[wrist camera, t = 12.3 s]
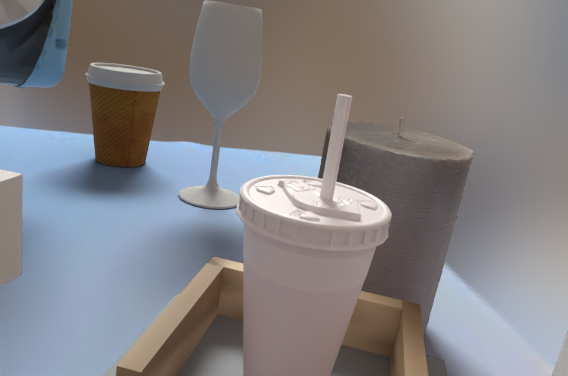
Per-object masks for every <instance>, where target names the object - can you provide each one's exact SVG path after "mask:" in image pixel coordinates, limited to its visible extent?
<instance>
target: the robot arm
mask: <svg viewBox="0 0 568 376" xmlns="http://www.w3.org/2000/svg"><path fill="white" fill-rule="evenodd" d="M71 10H72V0H0V84H8V85H14V86H15V87H18V88H24V87H27V86H31V87H52V86H55V85H56V84H58V83H59V82H60V80H61V79H62V77H63V74H64V69H65V61H66V54H67V41H68V36H69V30H70V20H71ZM21 274H22V174H19V173H14V172H10V171H5V170H1V169H0V287H1V286H3V285H4V284H6V283H7V282H9V281H11V280H12V279H14V278H16V277H17V276H19V275H21ZM552 376H568V332H567V335H566V338H565V340H564V343H563V346H562V349H561V351H560V354H559V357H558V360H557V362H556V365H555V368H554V371H553V373H552Z"/></svg>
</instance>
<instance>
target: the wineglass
mask: <svg viewBox="0 0 568 376" xmlns="http://www.w3.org/2000/svg"><path fill="white" fill-rule="evenodd" d="M262 56H263V26H262V12H261V10H260V9H256V8H251V7H246V6H240V5H234V4H228V3H222V2H215V1H204V4H203V7H202V10H201V14H200V17H199V21H198V25H197V28H196V33H195V37H194V42H193V47H192V52H191V57H190V67H189V73H190V81H191V85H192V88H193V90H194V92H195V93H196V95H197V97H198V99H199V100H200V101H201V102H202V103H203V104H204V106H205V107H206V108H207V109H208V110H209V112H210V113H211V114H212V115H213V117H214V120H215V137H214V145H213V154H212V162H211V171H210V177H209V181H208V182H207V184H206V185H205V186H192V187H187V188H184V189H181V190H180V191H179V197H180V199H181V200H183V201H184V202H186V203H188V204H191V205H194V206H198V207H203V208H210V209H228V208H234V207H237V204H238V203H239V198H240V195H238V194H237V193H235V192H232V191H230V190H227V189H223V188H219V186H218V184H217V179H216V175H217V166H218V158H219V150H220V141H221V133H222V128H223V124H224V121H225V120H226V119H227V117H228V116H230V115H231V114H233V113H234V112H236V111H237V110H239V109H240V108H241V107H243V106H244V105H245V104H246V103H247V102H248V101H249V100H250V99H251V98H252V97H253V96H254V94H255V92H256V91H257V89H258V86H259V82H260V78H261V72H262Z"/></svg>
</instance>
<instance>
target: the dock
mask: <svg viewBox="0 0 568 376" xmlns="http://www.w3.org/2000/svg"><path fill="white" fill-rule="evenodd" d="M177 296H178V295H177V294H176V295H175V296H174V297H173V298H172V299H171V300H170V301H169V302H168V304H167V305H166V306H165V307H164V308H163V309H162V310H161V311H160V312H159V314H158V315H157V316H156V317H155V318H154V319H153V320H152V321H151V323H150V324H149V325H148V326H147V327H146V328H145V329H144V330H143V332H142V333H141V334H140V335H139V336H138V337H137V338H136V339H135V340H134V342H133V343H132V344H131V345H130V346H129V347H128V348H127V349H126V351H125V352H124V353H123V354H122V355H121V356H120V357H119V358H118V359H117V361H116V362H115V363H114V364H113V365H112V366H111V367H110V368H109V370H108V371H107V372H106V373H105V374H104V375H103V376H116V367H117V365H118V364H119V362H120V361H121V360H122V359H123V358H124V357H125V356H126V354H127V353H128V352H129V351H130V350H131V349H132V348H133V346H134V345H135V344H136V343H137V342H138V341H139V340H140V339H141V337H142V336H143V335H144V334H145V333H146V332H147V331H148V329H149V328H150V327H151V326H152V325H153V324H154V323H155V321H156V320H157V319H158V318H159V317H160V316H161V315H162V313H163V312H164V311H165V310H166V309H167V308H168V307H169V306H170V304H171V303H172V302H173V301H174V300H175V299H176V298H177ZM426 361H427V370H428V376H447V375H446V369H445V363H444V360H441V359H437V358H433V357H429V356H426ZM176 376H243V320H240V319H236V318H232V317H228V316H224V315H220V314H217V315H216V317H215V318H214V320H213V321H212V323H211V324H210V326H209V327H208V329H207V330H206V332H205V333H204V335H203V336H202V338H201V339H200V341H199V342H198V344H197V345H196V347H195V348H194V350H193V351H192V353H191V354H190V356H189V357H188V359H187V360H186V362H185V363H184V365H183V366H182V368H181V369H180V371H179V372H178V374H177V375H176ZM330 376H390V357H389V356H385V355H381V354H377V353H373V352H369V351H364V350H360V349H356V348H352V347H348V346H344V345H341V347H340V350H339V353H338V355H337V358H336V361H335V364H334V366H333V369H332V372H331V375H330Z"/></svg>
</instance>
